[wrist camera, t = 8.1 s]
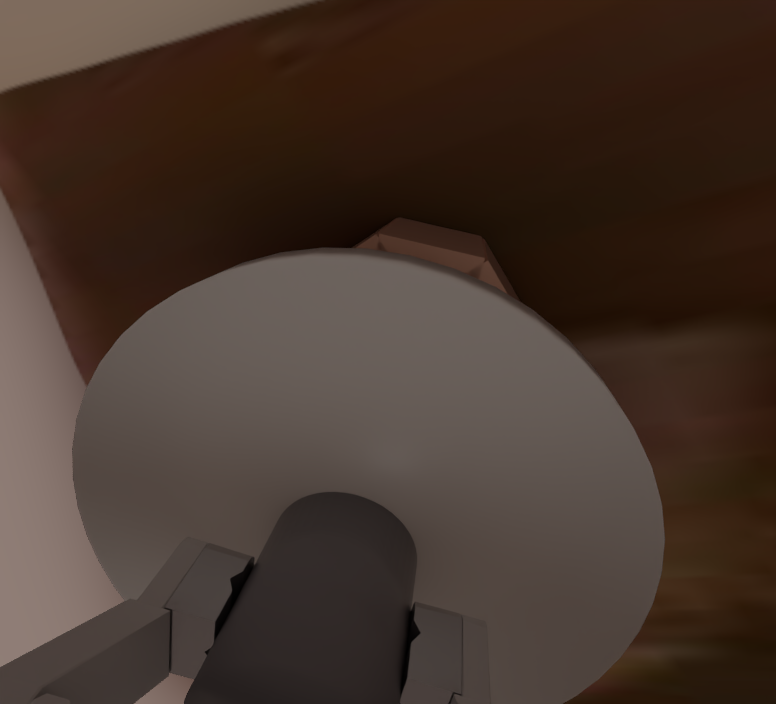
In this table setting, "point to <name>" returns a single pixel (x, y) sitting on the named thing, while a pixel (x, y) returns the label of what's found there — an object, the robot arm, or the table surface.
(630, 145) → the table surface
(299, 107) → the table surface
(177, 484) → the lid
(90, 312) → the table surface
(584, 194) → the table surface
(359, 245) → the bowl
